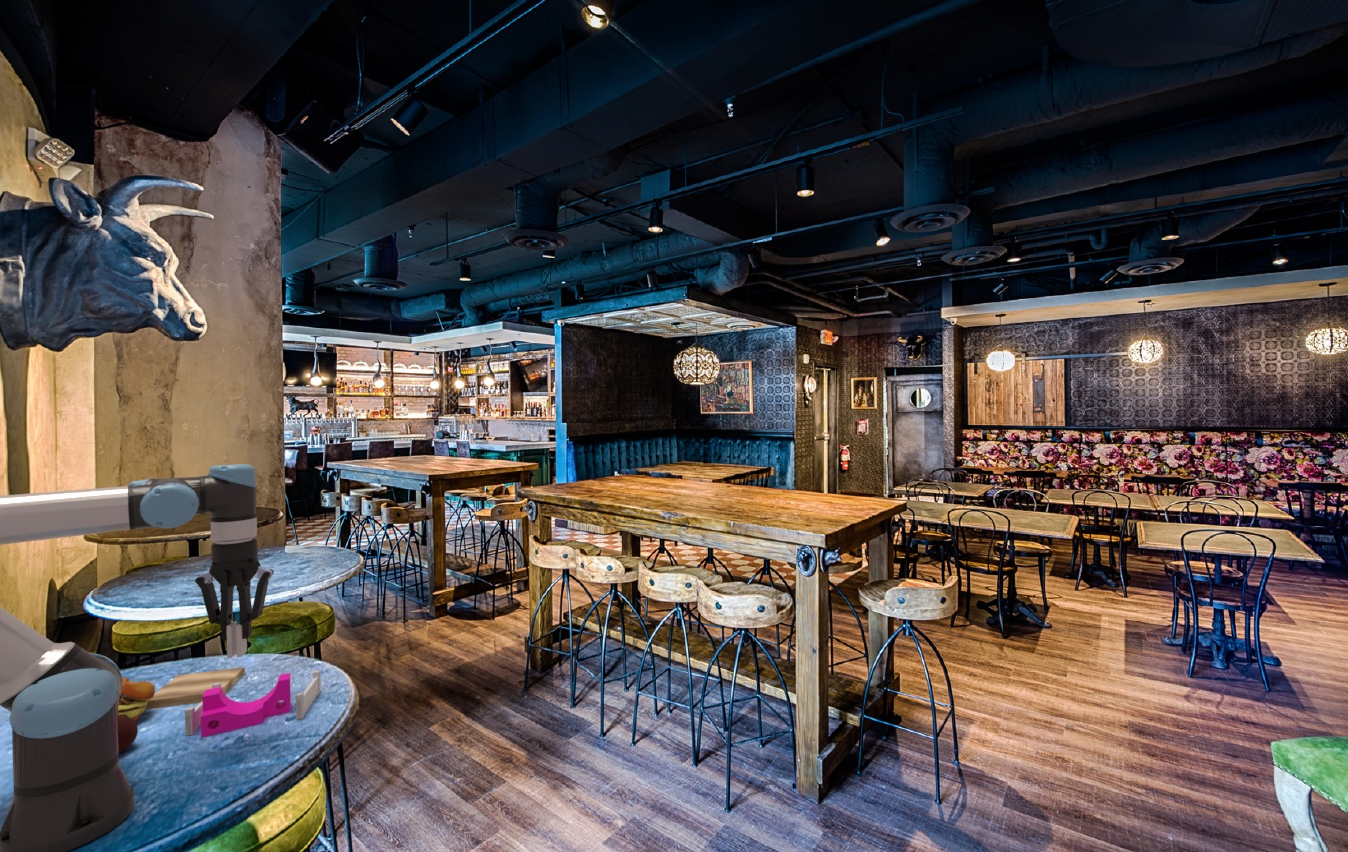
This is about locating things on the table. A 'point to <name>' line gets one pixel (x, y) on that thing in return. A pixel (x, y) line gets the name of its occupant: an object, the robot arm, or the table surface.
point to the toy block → (242, 708)
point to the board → (193, 687)
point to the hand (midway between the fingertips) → (237, 654)
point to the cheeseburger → (134, 698)
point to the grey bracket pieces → (302, 704)
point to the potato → (126, 732)
